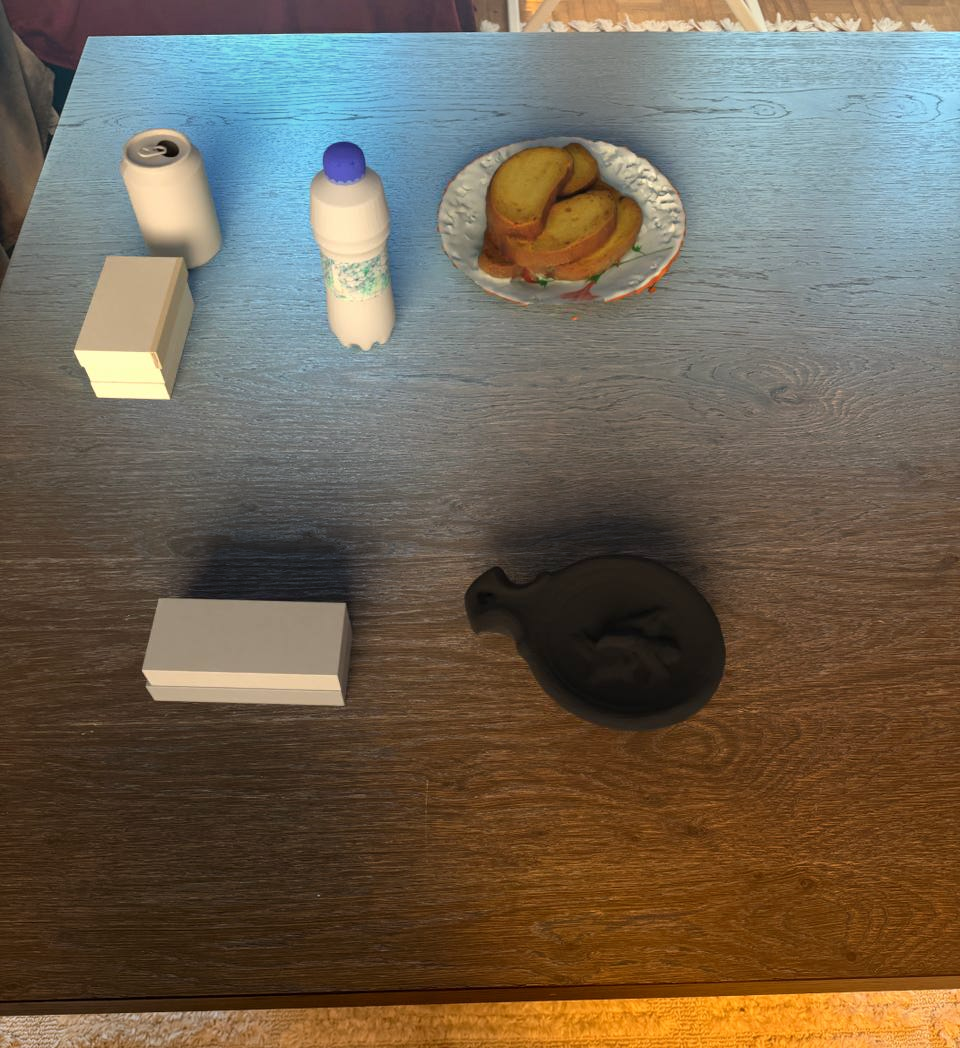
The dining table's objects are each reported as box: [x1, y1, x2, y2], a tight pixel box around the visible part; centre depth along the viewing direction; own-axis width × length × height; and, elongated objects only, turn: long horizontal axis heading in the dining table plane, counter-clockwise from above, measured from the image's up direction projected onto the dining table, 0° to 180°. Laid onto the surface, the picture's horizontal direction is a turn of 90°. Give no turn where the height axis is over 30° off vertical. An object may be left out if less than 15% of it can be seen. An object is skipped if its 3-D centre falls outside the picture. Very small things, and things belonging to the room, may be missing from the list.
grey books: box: [141, 597, 353, 707], centre depth 70 cm, size 14×6×5 cm, turn 89°
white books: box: [83, 280, 196, 400], centre depth 89 cm, size 12×7×4 cm, turn 179°
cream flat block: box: [73, 255, 189, 369], centre depth 86 cm, size 12×7×2 cm, turn 179°
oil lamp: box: [463, 553, 727, 732], centre depth 71 cm, size 15×20×5 cm
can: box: [119, 127, 223, 270], centre depth 93 cm, size 8×8×12 cm
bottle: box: [309, 140, 397, 352], centre depth 84 cm, size 7×7×20 cm
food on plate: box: [436, 136, 687, 321], centre depth 97 cm, size 25×25×7 cm
